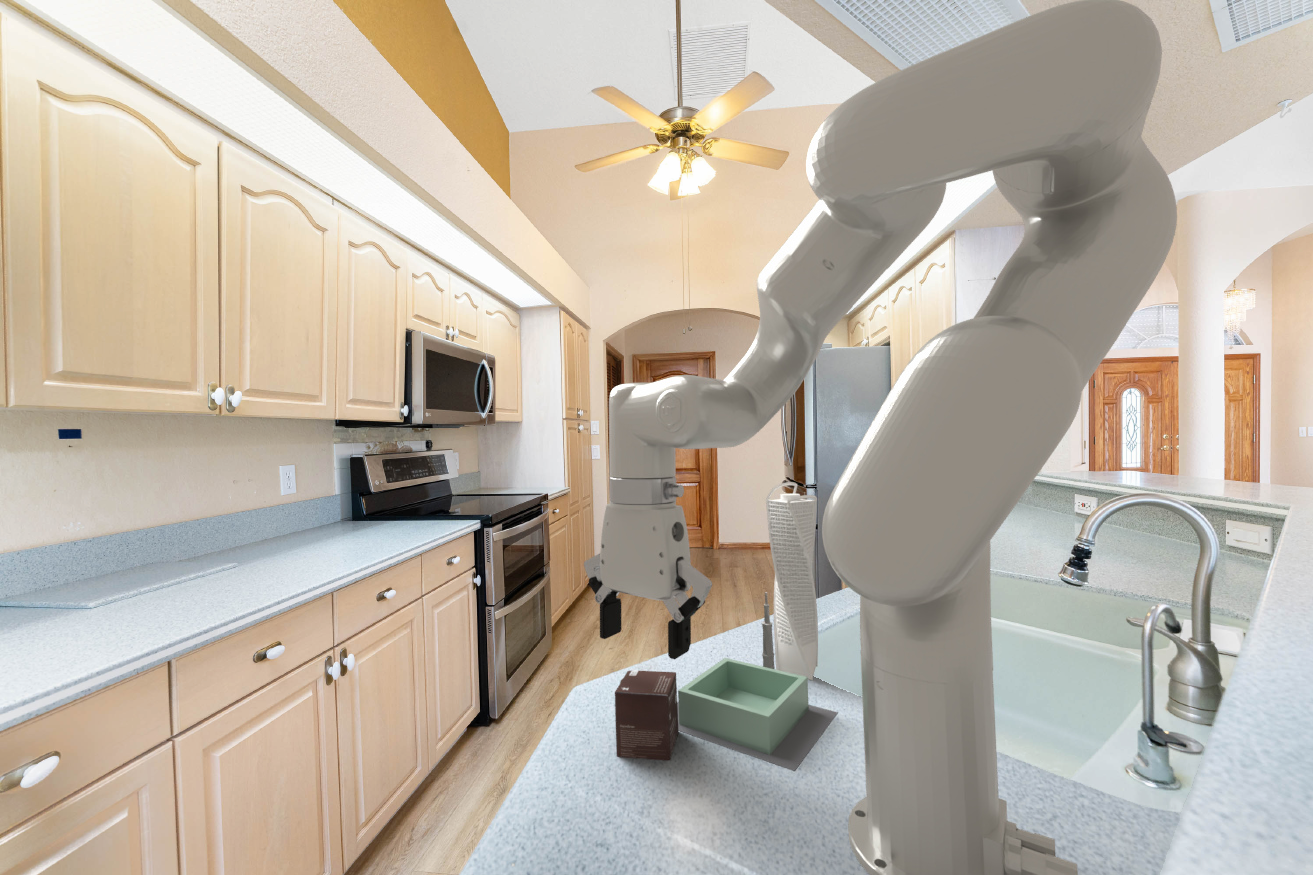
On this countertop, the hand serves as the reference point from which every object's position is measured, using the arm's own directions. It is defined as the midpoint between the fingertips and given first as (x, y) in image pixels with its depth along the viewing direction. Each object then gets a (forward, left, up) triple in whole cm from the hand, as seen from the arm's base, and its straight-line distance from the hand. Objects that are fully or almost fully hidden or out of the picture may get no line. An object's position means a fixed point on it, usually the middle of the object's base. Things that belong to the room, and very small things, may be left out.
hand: (643, 644), depth 59 cm
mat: (-7, -11, -11) cm, 17 cm away
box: (0, 0, -12) cm, 12 cm away
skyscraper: (-7, -27, -12) cm, 30 cm away
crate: (-7, -11, -11) cm, 17 cm away
